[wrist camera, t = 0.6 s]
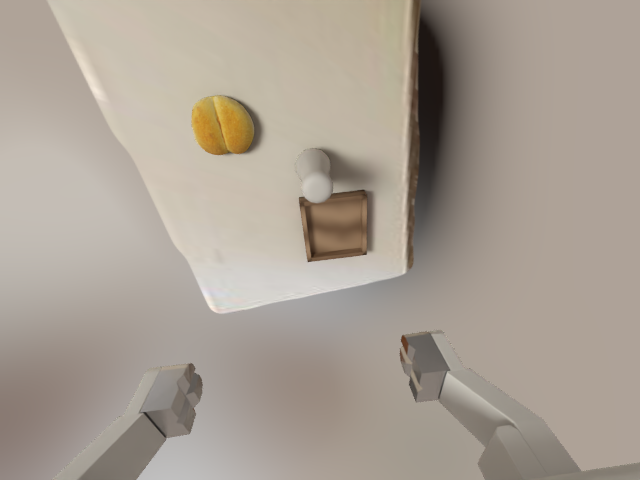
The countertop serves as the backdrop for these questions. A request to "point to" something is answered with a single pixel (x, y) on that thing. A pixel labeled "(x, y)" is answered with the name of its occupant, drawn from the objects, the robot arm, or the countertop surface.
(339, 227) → the tray
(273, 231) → the countertop surface
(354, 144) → the countertop surface
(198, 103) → the bread roll
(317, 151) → the salt shaker
